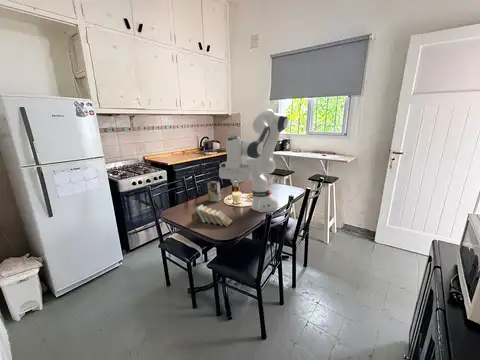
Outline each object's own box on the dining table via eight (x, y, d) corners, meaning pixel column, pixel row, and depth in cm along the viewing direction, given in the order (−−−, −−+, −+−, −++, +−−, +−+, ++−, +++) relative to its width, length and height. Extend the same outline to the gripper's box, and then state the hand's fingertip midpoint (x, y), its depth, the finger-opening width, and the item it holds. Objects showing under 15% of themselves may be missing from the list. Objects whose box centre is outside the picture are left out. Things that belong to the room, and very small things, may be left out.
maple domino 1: (215, 218, 159) (205, 205, 159) (210, 222, 153) (201, 209, 153) (213, 220, 160) (204, 207, 160) (208, 223, 154) (199, 210, 154)
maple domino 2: (221, 219, 157) (210, 207, 158) (216, 223, 152) (205, 210, 153) (219, 221, 158) (208, 209, 159) (215, 224, 152) (203, 212, 153)
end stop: (205, 216, 165) (204, 207, 163) (196, 224, 155) (195, 214, 153) (201, 216, 166) (201, 207, 165) (192, 223, 156) (191, 213, 154)
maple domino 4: (232, 220, 153) (219, 210, 155) (228, 224, 148) (215, 214, 150) (231, 222, 154) (218, 212, 156) (227, 226, 149) (214, 216, 151)
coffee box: (221, 199, 199) (220, 181, 195) (218, 202, 193) (217, 183, 189) (212, 198, 202) (210, 180, 198) (208, 201, 196) (207, 182, 192)
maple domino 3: (227, 220, 155) (214, 209, 157) (222, 223, 150) (210, 212, 151) (225, 222, 156) (213, 211, 158) (221, 225, 151) (209, 214, 152)
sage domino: (209, 218, 160) (202, 204, 160) (205, 222, 155) (197, 207, 154) (207, 219, 161) (200, 205, 161) (203, 222, 156) (195, 208, 155)
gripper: (252, 163, 137) (253, 186, 141) (221, 162, 145) (223, 183, 149) (248, 165, 132) (249, 189, 135) (217, 164, 139) (218, 186, 143)
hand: (235, 186), depth 142 cm, fingers closed
